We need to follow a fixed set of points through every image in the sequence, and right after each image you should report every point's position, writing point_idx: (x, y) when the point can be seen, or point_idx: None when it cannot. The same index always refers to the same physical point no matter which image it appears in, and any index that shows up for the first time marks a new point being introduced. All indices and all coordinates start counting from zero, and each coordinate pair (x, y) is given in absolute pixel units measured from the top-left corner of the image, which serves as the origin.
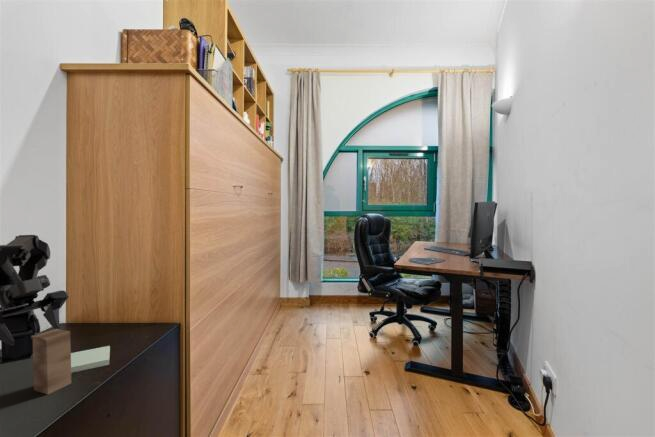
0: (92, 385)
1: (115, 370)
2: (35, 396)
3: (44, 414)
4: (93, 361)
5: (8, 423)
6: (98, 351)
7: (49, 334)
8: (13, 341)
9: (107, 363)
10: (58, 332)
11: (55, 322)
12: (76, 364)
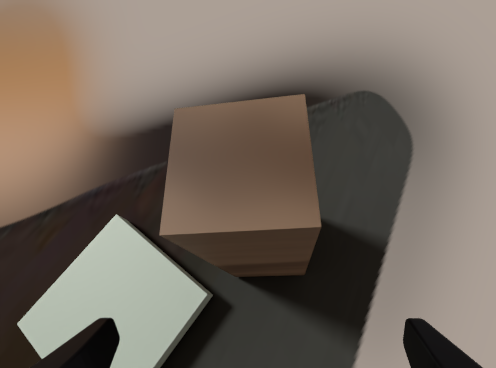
0: None
1: (148, 176)
2: None
3: (344, 131)
4: (137, 247)
5: (404, 163)
6: (66, 314)
7: (249, 162)
8: (419, 321)
9: (125, 220)
10: (206, 148)
11: (70, 362)
12: (166, 282)
